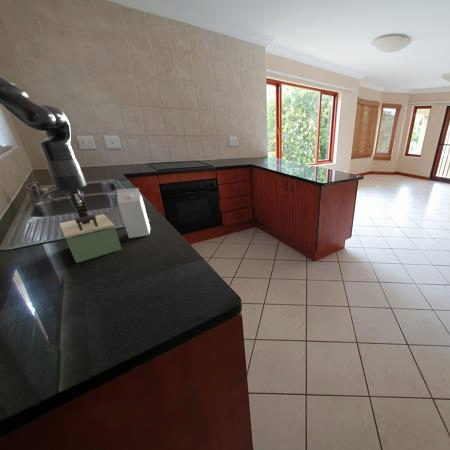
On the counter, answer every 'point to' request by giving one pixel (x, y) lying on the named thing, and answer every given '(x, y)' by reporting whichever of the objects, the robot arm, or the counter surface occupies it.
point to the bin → (93, 244)
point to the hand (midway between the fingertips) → (86, 222)
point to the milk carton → (133, 212)
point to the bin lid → (85, 225)
